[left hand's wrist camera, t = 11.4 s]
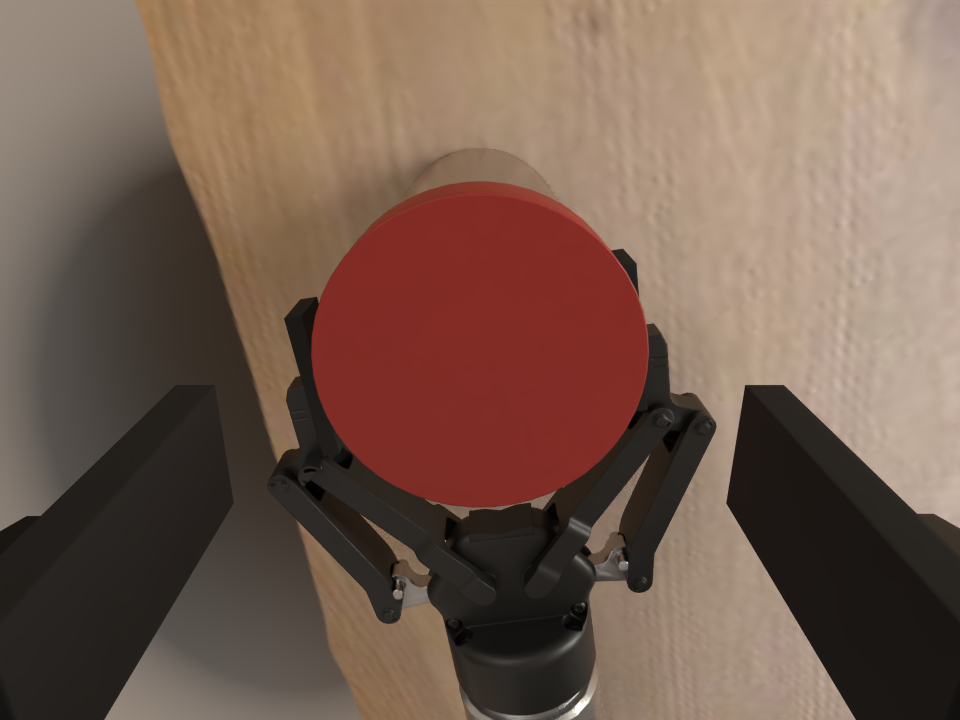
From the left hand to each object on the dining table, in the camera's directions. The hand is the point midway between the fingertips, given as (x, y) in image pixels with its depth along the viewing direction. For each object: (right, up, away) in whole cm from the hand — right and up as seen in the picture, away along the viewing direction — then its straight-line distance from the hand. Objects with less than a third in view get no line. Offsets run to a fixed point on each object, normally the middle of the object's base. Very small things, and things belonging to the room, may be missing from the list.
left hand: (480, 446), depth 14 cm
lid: (0, +2, +4) cm, 5 cm away
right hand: (-1, +5, +15) cm, 15 cm away
